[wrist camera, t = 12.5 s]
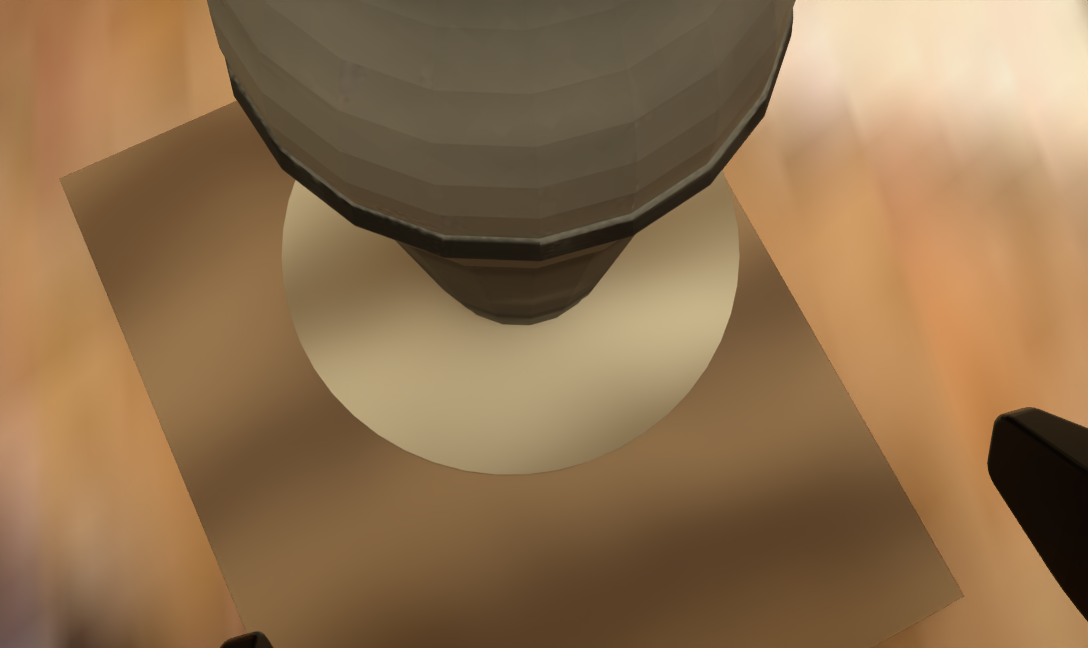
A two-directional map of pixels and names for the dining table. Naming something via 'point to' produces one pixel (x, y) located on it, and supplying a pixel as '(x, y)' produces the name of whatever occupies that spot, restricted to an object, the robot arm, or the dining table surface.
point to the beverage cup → (504, 123)
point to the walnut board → (496, 427)
